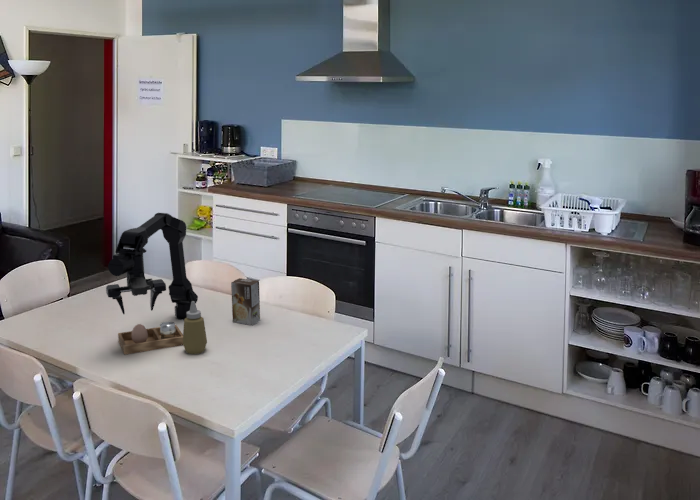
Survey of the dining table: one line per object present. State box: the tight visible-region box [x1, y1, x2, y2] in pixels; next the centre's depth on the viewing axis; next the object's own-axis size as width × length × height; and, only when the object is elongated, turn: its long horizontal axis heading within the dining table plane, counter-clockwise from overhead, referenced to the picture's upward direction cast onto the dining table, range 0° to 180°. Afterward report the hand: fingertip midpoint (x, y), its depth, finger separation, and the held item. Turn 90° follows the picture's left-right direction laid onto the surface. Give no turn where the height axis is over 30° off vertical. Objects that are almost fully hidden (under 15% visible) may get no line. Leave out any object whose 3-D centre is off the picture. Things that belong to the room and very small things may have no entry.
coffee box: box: [230, 277, 261, 326], centre depth 248 cm, size 9×6×16 cm
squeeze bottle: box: [182, 301, 208, 355], centre depth 219 cm, size 8×8×18 cm
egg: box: [131, 323, 148, 343], centre depth 224 cm, size 5×5×7 cm
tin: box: [159, 321, 176, 340], centre depth 229 cm, size 5×5×6 cm
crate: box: [117, 324, 184, 356], centre depth 227 cm, size 20×13×4 cm, turn 117°
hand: (137, 312), depth 222 cm, fingers open, 9 cm apart
